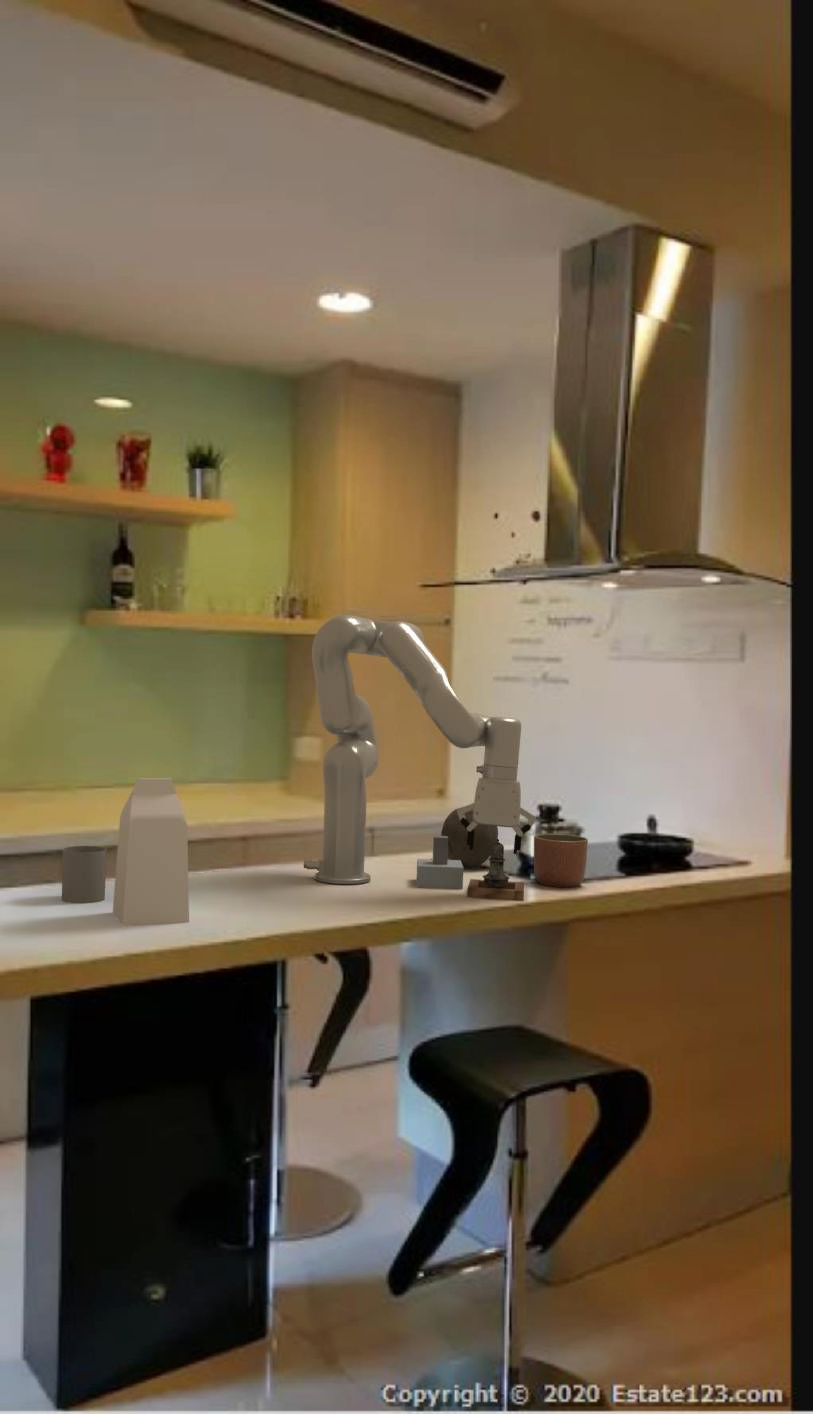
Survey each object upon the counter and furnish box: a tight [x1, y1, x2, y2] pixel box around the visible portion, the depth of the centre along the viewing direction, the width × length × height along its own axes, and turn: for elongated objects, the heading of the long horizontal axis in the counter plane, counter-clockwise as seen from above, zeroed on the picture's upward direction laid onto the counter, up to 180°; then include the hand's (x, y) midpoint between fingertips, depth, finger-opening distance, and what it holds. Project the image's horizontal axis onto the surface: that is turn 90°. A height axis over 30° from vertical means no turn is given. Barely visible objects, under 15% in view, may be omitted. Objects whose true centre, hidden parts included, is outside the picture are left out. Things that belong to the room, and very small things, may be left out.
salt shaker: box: [482, 838, 511, 889], centre depth 245 cm, size 6×6×12 cm
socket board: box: [466, 878, 525, 902], centre depth 245 cm, size 12×11×2 cm
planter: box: [533, 833, 589, 888], centre depth 260 cm, size 12×12×11 cm
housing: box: [416, 835, 464, 890], centre depth 254 cm, size 10×10×11 cm
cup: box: [61, 845, 107, 905], centre depth 223 cm, size 8×8×10 cm
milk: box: [112, 777, 190, 927], centre depth 209 cm, size 12×12×26 cm
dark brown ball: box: [440, 806, 499, 869], centre depth 279 cm, size 14×14×15 cm
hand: (493, 851), depth 246 cm, fingers open, 9 cm apart
